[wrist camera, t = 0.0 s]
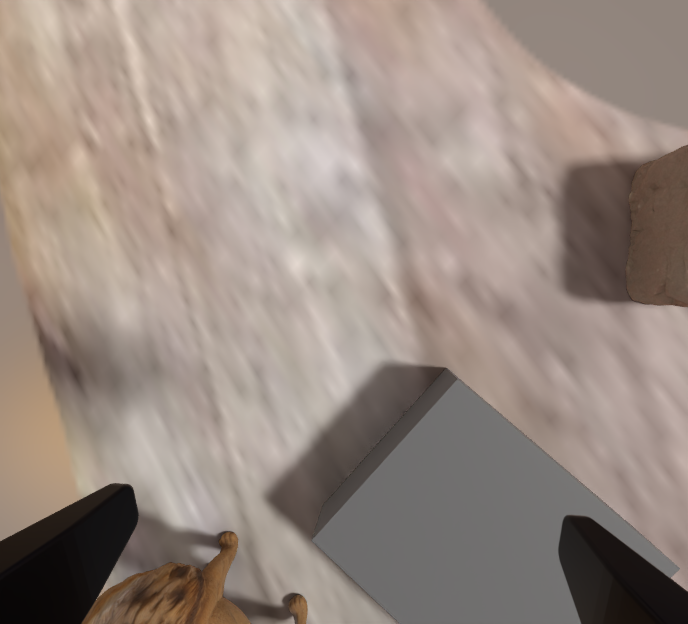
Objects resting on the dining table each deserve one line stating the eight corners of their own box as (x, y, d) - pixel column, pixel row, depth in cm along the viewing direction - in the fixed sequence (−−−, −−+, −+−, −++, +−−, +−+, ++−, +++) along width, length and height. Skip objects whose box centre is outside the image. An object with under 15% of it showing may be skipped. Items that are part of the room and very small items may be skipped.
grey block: (490, 655, 23) (512, 730, 19) (324, 501, 24) (311, 540, 20) (626, 520, 22) (680, 568, 18) (445, 366, 23) (457, 378, 19)
